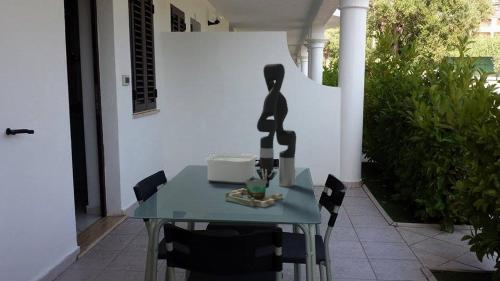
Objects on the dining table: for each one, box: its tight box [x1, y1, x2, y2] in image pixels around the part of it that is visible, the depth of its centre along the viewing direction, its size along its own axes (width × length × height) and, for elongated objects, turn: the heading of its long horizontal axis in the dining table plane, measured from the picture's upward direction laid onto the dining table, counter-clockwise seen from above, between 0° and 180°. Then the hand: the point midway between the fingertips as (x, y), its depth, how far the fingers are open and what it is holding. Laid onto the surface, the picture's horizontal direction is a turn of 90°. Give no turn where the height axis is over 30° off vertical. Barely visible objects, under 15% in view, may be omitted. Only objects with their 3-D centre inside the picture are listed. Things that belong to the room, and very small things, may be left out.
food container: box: [245, 178, 267, 200], centre depth 243 cm, size 12×6×10 cm, turn 105°
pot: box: [204, 152, 260, 185], centre depth 289 cm, size 34×29×15 cm
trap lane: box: [224, 188, 283, 208], centre depth 241 cm, size 24×28×4 cm
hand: (266, 187), depth 248 cm, fingers closed
